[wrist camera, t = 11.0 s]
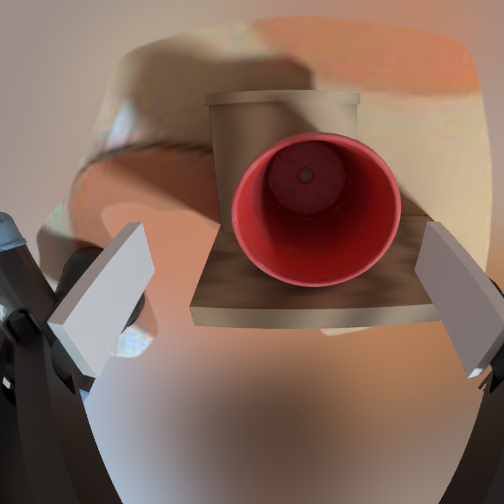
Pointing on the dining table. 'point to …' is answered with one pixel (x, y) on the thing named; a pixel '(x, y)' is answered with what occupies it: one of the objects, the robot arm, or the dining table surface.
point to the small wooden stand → (269, 128)
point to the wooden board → (314, 290)
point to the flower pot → (316, 209)
